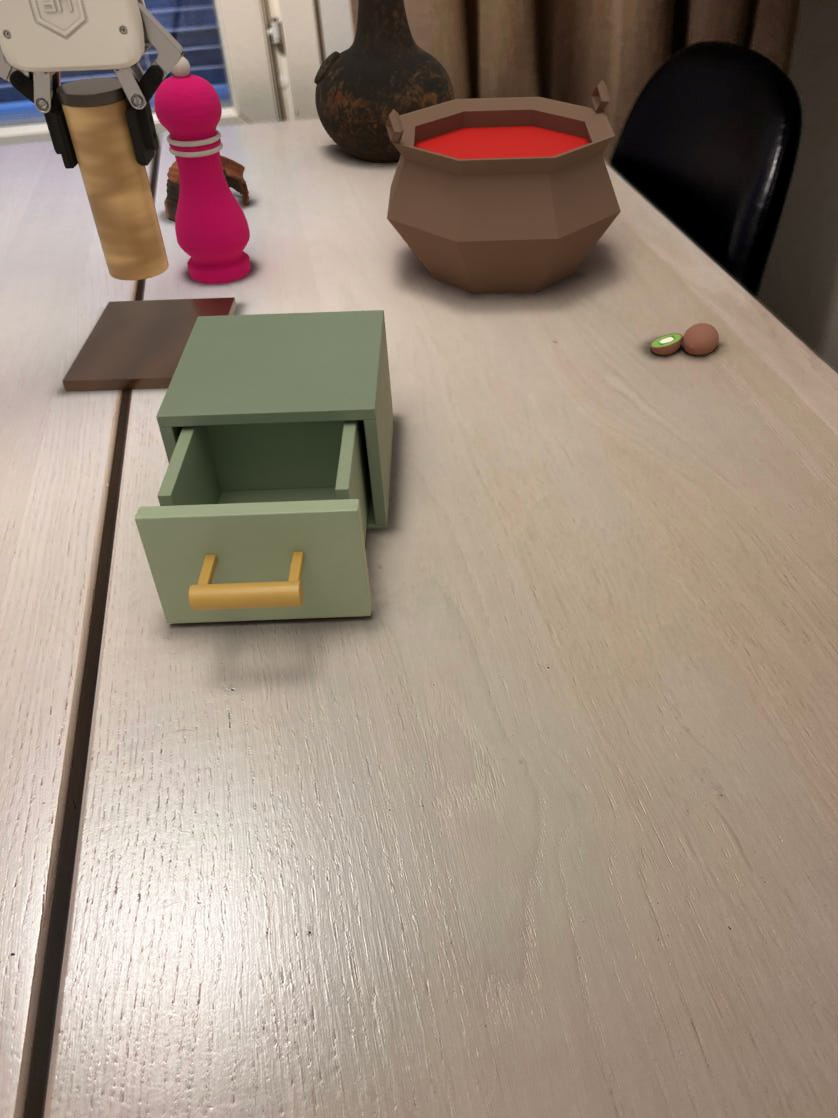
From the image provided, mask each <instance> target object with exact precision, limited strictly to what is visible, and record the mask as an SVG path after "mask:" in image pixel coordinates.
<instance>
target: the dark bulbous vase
mask: <svg viewBox="0 0 838 1118" xmlns="http://www.w3.org/2000/svg"><path fill="white" fill-rule="evenodd" d="M357 2H358V3H357V18H356V19H357V20H356V29H355V35H354V39H353V42H352V44H351V45H350V46H349V48H347V49H345V50H343V51H341V52H339V51H337V50H335V51H333V52H332V53H330V54H329V55H328V56H327V57H326V58H325V60H324V61H323V62H322V63H321V65H320V67H319V68H318V70H317V72H316V74H315V77H314V80H313V82H314V84H315V85H316V86H315V91H314V92H315V95H314V100H315V101H314V102H315V109H316V112H317V115H318V118H319V121H320V123H321V125H322V127H323V130H324V131H325V132H326V134H327V135H328V136H329V138H330V139H331V140H332V141H333V143H335V144H336V145H337V146H338V147H339V148H340V149H341V150H343V151H344V152H346V153H347V154H349V155H350V156H352V157H355V158H357V159H359V160H362V161H366V162H373V163H374V162H375V163H393V162H395V163H396V162H399V159H400V156H401V154H400V152H399V151H398V150H397V149H396V147H395V146H394V145H393V143H392V142H391V140H390V137H389V134H388V131H387V128H386V123H387V120H388V117H389V114H390V113H391V112H392V110H393V109H394V110H395V111H396V112H397V113H399V116H400V115H403V114H406V113H410V112H413V111H417V110H420V109H423V108H427V107H430V106H434V105H437V104H440V103H444V102H447V101H451V100H454V99H455V91H454V87H453V83H452V80H451V78H450V75H449V74H448V72H447V70H446V68H445V67H444V66H443V64H442V63H441V62H440V61H439V60H438V59H437V58H436V57H434V56H433V55H432V54H431V53H430V52H427V51H426V50H424V49H423V48H421V47H420V46H419V45H418V44H417V43H416V41H415V39H414V38H413V35H412V32H411V29H410V28H411V27H410V25H409V20H408V15H407V11H406V7H405V1H404V0H358V1H357Z"/></svg>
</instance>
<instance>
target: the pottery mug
mask: <svg viewBox="0 0 838 1118" xmlns="http://www.w3.org/2000/svg"><path fill="white" fill-rule="evenodd" d="M220 159H221V165H222V169H223V173H224V176H225V179H226V181H227V184H228V186H229V188H230V189H233V190H235V191H236V192H237V193H239V194H240V195H241V199H242V200H241V201H242V205H244V206H249V200H250V195H249V193H250V192H249V189H248V185H247V181H246V180H245V178H244V172H245V169H246V167H245V165H243V164H241V163H239V162H237V161H236V160H234V159H232V158H230V157H227V156H224V155H221V154H220ZM166 175H167V180H166V185H165V186H166V190H165V191H166V197H165V199H164V209H165V218H166V219H167V220H172V221H174V222H175V218H176V211H177V206H178V200H179V192H180V179H179V171H178V165H177V162H176V160H175V161H174V162H172V164H171V166H169V167H168V171H167V173H166Z"/></svg>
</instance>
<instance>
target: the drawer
mask: <svg viewBox="0 0 838 1118" xmlns="http://www.w3.org/2000/svg"><path fill="white" fill-rule="evenodd" d="M369 493H370V486H369V477H368V468H367V459H366V450H365V442H364V433H363V424H362V420H349V421H321V422H293V423H265V424H237V425H209V426H183V428H182V430H181V433H180V436H179V439H178V441H177V444H176V447H175V449H174V452H173V455H172V457H171V460H170V463H169V462H168V466H167V469H166V471H165V474H164V476H163V479H162V482H161V485H160V487H159V490H158V492H157V495H156V497H157V499H158V503H159V505H156V506H155V505H154V506H153V505H152V506H151V505H149V506H139V507H138V508H137V512H136V514H135V517H134V522H135V524H136V528H137V531H138V534H139V537H140V540H141V544H142V548H143V550H144V554H145V557H146V560H147V564H148V566H149V567H148V568H149V569H150V573H151V575H152V579H153V583H154V585H155V589H156V592H157V594H158V599H159V602H160V604H161V608H162V611H163V615H164V618H165V620H166V623H167V625H169V624H171V625H173V624H196V623H197V624H199V623H223V622H224V623H225V622H226V623H227V622H248V621H249V622H250V621H272V620H274V621H275V620H276V621H277V620H295V619H296V620H301V619H327V618H331V619H332V618H355V617H356V618H357V617H371V616H372V610H373V609H372V608H373V601H372V600H373V599H372V592H371V585H370V584H371V583H370V577H369V569H368V568H369V567H368V561H367V552H366V538H367V529H366V528H367V516H368V505H369Z"/></svg>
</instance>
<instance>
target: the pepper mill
mask: <svg viewBox="0 0 838 1118" xmlns="http://www.w3.org/2000/svg"><path fill="white" fill-rule="evenodd" d="M170 72H171V73H172V74H173V75H171V76H169V77H167V78H164V80H163V81H162V83H161V84H160V86H159V87H158V89H157V90H156V92H155V93H154V96H153V97H154V98H153V103H154V104H153V105H154V106H153V107H154V113H155V115H156V118H157V120H158V122H159V123H160V125H161V126H162V127H164V129H165V130H166V131H167V132H168V133H169V134H167V136H166V141H167V143H168V146H169V147H168V151H169V153H170V154H171V155H173V156H174V158H175V161H176V162H177V165H178V171H179V179H180V192H179V200H178V206H177V211H176V218H175V221H174V222H175V223H174V224H175V225H174V230H175V231H174V232H175V237H176V242H177V244H178V246H179V248H180V249H181V250H182V251H183V252H184V253H185V254H187V255H188V256H189V259H188V260H187V263H186V264H187V269H188V275H189V278H191V280H193V281H195V282H197V283H201V284H207V285H208V284H209V285H210V284H211V285H215V284H218V285H219V284H227V283H232V282H235V281H238V280H241V279H243V278H245V277H246V276H248V275H249V274H250V273H251V271H252V266H251V265H252V264H251V260H250V256H249V254H248V253H247V252H245V251H244V250H245V248H246V247H247V245H248V243H249V241H250V237H251V231H250V226H249V223H248V220H247V219H248V218H247V217H246V215H245V212H244V211H243V209H242V207H241V205H240V204H239V202H238V200H237V199H236V197H235V194H234V193H233V192H232V190H231V187H229V186H228V184H227V181H226V179H225V176H224V173H223V169H222V165H221V159H220V155H221V151H222V150H223V147H224V144H223V142H222V140H221V137H222V133H221V131H219V130H217V127H218V125H219V123H220V121H221V117H222V114H223V111H222V102H221V99H220V97H219V94H218V92H217V89H216V88H215V87H214V86H213V85H212V84H211V82H209V81H208V80H207V79H205V78H203V77H201V76H199V75H196V74H192V73H191V65H190V62H189V60H188V59H187V58H186V57H185V56H183V57H182V58H181V59H180V60H179V62H178V63H177V64H176V65H175V66H174V67H173V69H172V70H171V71H170ZM190 73H191V74H190Z"/></svg>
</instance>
